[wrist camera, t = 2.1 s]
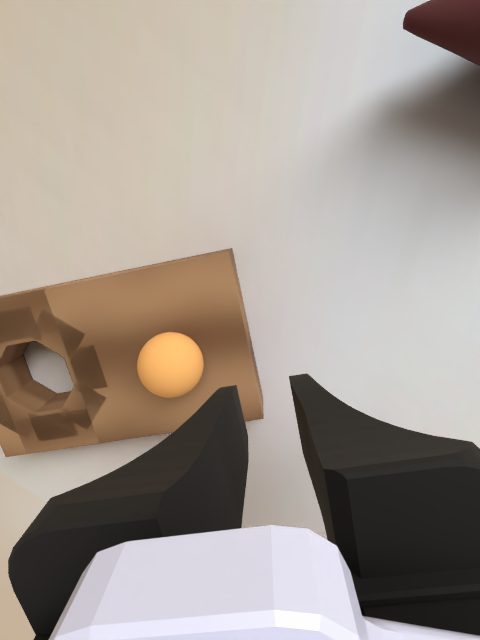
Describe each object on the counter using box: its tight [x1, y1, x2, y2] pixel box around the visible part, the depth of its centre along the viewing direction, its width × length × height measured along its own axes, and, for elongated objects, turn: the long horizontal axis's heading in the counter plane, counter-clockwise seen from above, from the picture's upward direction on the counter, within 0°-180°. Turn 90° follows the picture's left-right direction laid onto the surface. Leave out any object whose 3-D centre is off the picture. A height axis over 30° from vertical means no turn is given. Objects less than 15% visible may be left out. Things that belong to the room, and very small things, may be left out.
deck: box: [0, 248, 263, 457], centre depth 21 cm, size 10×17×2 cm, turn 102°
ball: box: [137, 332, 204, 398], centre depth 18 cm, size 3×3×3 cm
